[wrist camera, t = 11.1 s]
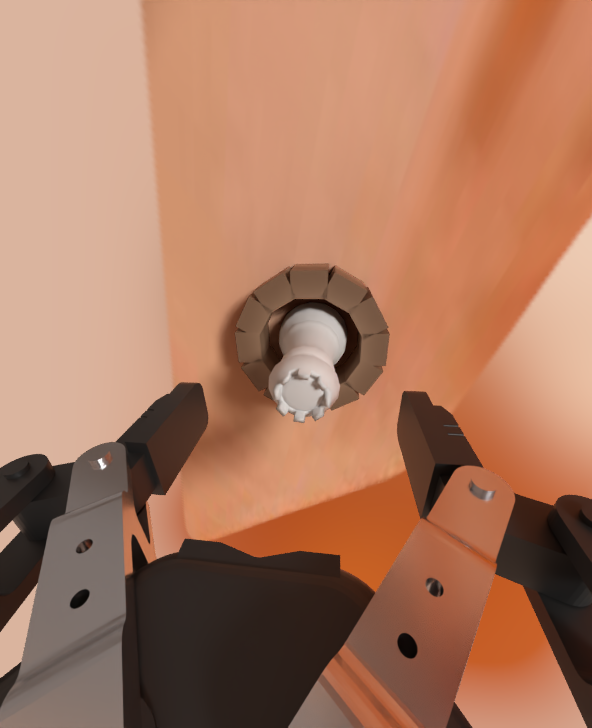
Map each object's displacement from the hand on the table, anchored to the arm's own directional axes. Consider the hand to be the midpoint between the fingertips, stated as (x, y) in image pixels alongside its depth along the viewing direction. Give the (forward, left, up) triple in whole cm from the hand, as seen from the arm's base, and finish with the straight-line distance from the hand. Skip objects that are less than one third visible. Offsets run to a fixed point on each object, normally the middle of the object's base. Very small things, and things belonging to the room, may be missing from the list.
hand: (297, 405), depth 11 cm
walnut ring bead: (0, 0, -9) cm, 9 cm away
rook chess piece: (0, 0, -9) cm, 9 cm away
